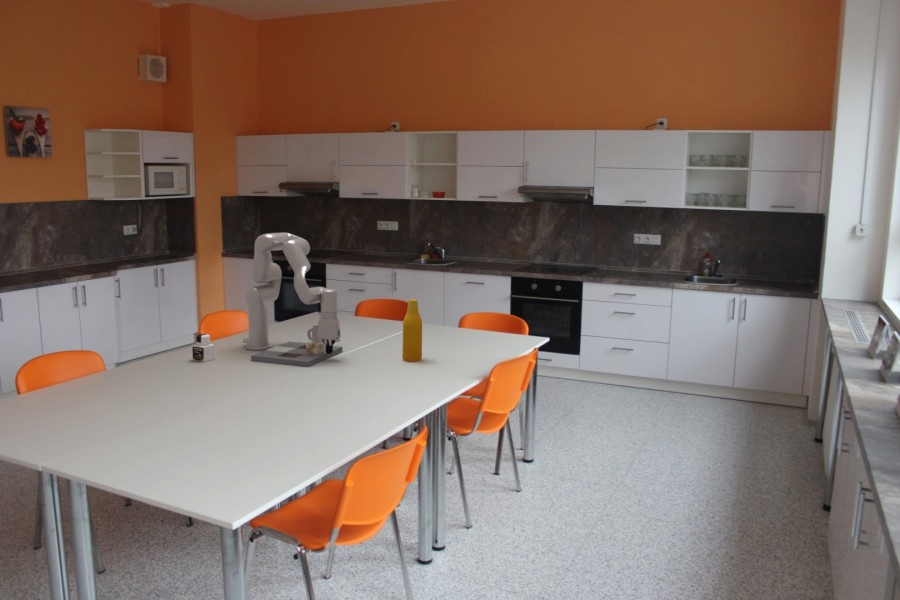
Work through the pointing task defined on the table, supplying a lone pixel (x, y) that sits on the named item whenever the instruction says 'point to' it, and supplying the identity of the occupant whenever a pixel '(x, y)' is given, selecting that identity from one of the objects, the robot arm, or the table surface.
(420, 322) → the beer bottle
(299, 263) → the robot arm
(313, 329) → the cup
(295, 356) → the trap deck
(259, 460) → the table surface
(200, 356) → the medicine bottle
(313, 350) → the beech block
